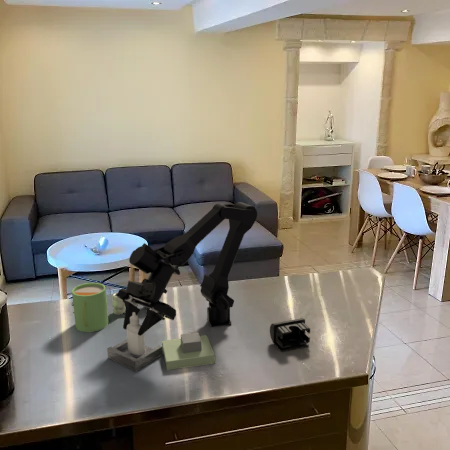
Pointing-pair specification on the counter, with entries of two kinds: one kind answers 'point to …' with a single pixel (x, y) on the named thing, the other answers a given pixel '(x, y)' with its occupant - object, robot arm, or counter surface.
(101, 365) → the counter surface
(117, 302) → the valve
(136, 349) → the eye dropper bottle
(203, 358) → the deck plate
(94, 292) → the mug
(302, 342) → the end cap
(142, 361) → the grey square tray
